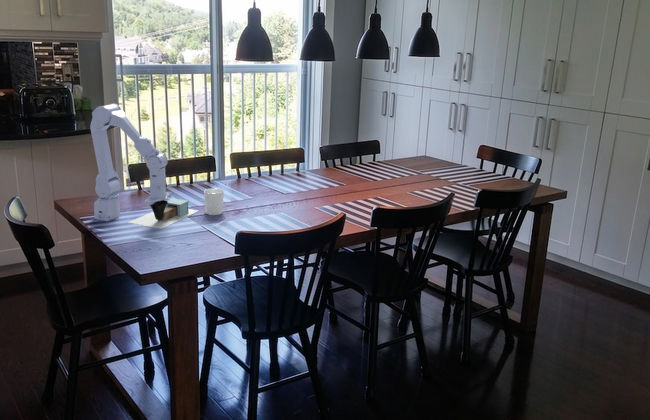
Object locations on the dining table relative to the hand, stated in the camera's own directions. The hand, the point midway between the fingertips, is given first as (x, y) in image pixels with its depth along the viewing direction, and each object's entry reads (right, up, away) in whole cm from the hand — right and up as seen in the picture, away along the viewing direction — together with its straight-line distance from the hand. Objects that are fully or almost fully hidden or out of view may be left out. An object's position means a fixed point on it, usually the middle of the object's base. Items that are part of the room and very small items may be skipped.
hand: (158, 219), depth 232 cm
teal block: (+4, +2, +11) cm, 12 cm away
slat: (+2, +1, +6) cm, 6 cm away
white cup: (+18, +2, +15) cm, 24 cm away
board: (0, 0, +7) cm, 7 cm away
